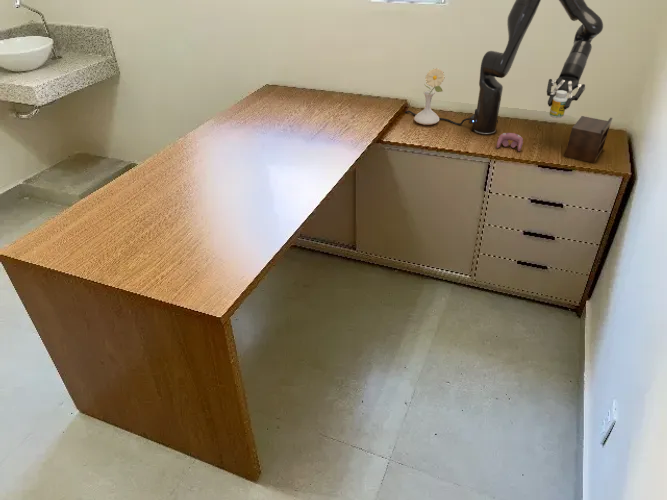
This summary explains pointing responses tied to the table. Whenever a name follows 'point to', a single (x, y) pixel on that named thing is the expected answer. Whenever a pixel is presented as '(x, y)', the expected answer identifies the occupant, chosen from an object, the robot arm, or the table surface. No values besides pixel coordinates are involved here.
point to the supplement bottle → (558, 104)
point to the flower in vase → (430, 97)
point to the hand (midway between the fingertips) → (557, 106)
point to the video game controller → (513, 137)
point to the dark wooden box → (587, 139)
